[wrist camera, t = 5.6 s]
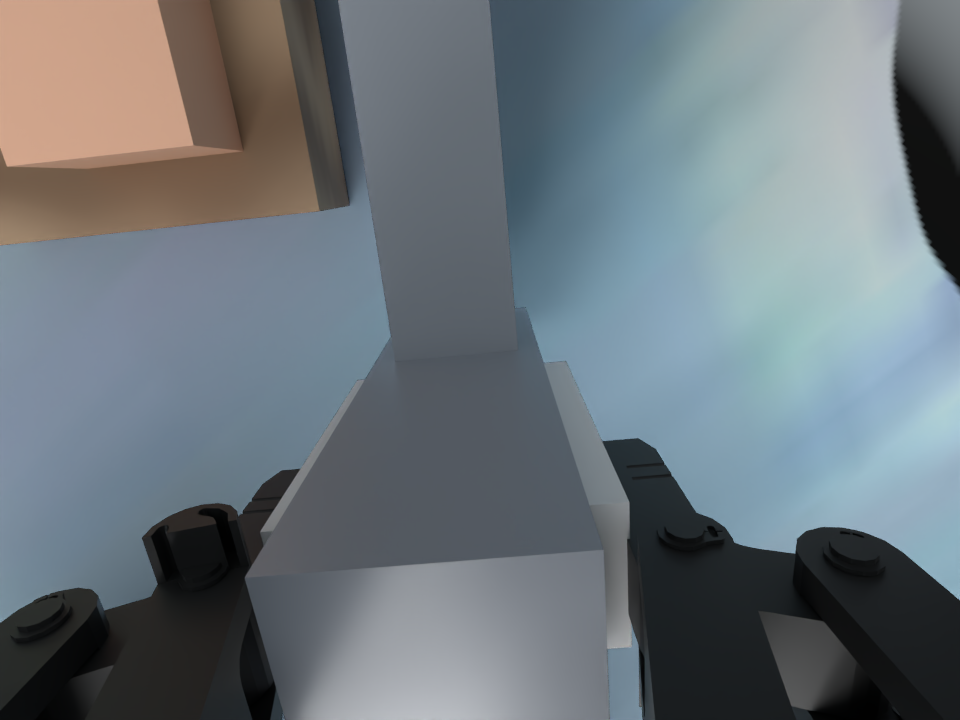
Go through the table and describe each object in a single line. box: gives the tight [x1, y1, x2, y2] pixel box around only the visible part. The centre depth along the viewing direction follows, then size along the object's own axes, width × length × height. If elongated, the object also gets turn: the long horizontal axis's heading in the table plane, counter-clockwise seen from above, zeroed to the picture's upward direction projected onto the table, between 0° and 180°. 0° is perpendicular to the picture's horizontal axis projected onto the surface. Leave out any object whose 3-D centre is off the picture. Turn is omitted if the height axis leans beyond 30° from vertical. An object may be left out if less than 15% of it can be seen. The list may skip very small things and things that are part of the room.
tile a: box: [0, 0, 243, 169], centre depth 15 cm, size 5×5×3 cm
